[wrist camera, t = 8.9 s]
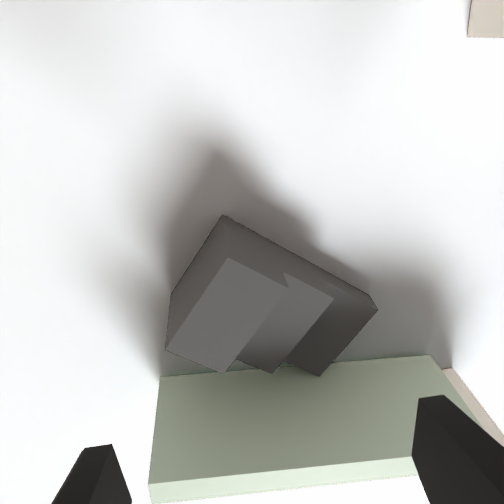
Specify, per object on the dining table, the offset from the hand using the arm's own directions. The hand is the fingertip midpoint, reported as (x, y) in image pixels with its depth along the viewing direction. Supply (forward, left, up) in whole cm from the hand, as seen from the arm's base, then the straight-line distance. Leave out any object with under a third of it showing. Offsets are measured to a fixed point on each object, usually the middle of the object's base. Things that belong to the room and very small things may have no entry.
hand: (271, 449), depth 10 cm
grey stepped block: (-2, +1, -10) cm, 10 cm away
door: (-5, +6, -9) cm, 12 cm away
